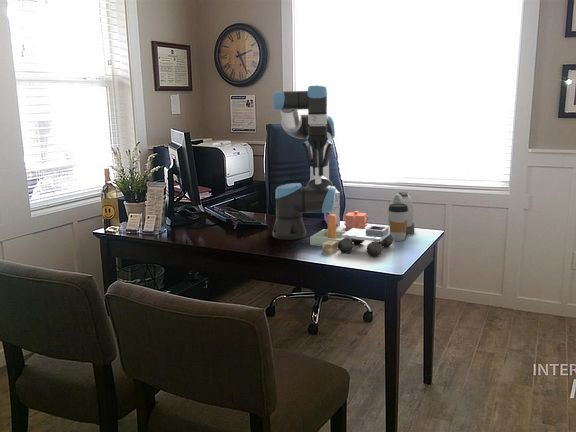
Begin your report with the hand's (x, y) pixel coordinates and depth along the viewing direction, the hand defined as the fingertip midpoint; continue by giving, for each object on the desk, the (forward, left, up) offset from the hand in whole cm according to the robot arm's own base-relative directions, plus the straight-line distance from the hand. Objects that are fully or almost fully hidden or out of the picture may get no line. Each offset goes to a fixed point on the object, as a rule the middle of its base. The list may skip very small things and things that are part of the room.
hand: (318, 183), depth 224 cm
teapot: (+4, +33, -27) cm, 43 cm away
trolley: (+20, +2, -26) cm, 33 cm away
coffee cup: (+27, +23, -27) cm, 44 cm away
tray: (+3, +7, -26) cm, 27 cm away
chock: (+8, -6, -27) cm, 28 cm away
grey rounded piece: (+25, +37, -27) cm, 52 cm away
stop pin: (+3, +7, -25) cm, 26 cm away
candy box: (-11, +40, -27) cm, 49 cm away
